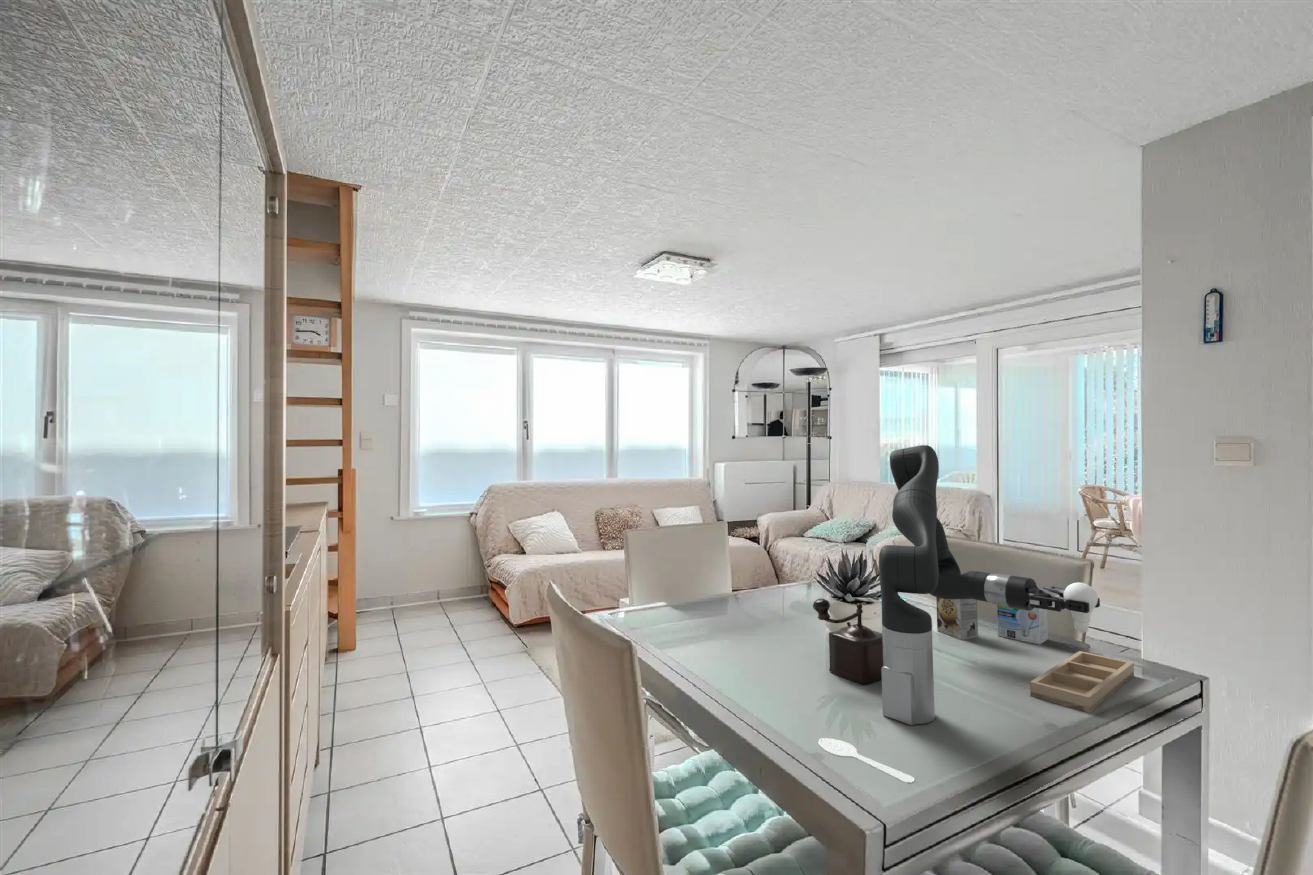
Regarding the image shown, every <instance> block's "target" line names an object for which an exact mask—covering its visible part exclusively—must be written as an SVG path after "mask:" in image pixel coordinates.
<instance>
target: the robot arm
mask: <svg viewBox="0 0 1313 875" xmlns="http://www.w3.org/2000/svg"><path fill="white" fill-rule="evenodd" d="M939 466H940V465H939V459H938V455H937V452H936V451H935V449H934V448H933V447H932V446H930V445H928V444H926V445H925V444H924V445H923V444H922V445H916V446H910V447H905V448H904V447H903V448H899V449H895V450H892V451H891V452H890V454H889V467H890V470H891V475H892V478H893V480H894V483H895V485H896V489H897V492H896V494H895V496H894V498H893V504H892V511H891V512H892V513H891V517H892V518H891V519H892V522H893V524H894V526H895V527H896V529H897V530H898V531H899V533H901V535H902V536H903V537H904V538H906V539H907V540H908V541H909V542H910V543H911V544H912V545H898V544H896V545H895V544H893V545H891V544H887V545H883V546H882V547H881V549H880V551H879V554H878V574H879V585H880V597H881V598H880V599H881V601H880V602H881V631H882V632H881V633H882V642H883V667H882V668H881V672H882V680H881V698H882V699H881V700H882V701H881V702H882V703H881V704H882V716H885V717H887V718H890V719H893V720H896V721H898V722H901V723H903V724H906V725H909V726H914V725H922V724H929V723H931V722H933V721H934V720H935V718H936V715H935V714H936V713H935V712H936V711H935V710H936V708H935V681H934V680H935V679H934V655H933V654H934V650H933V644H934V643H933V620H932V616H931V614H930V613H929V612H928V611H926V610H924V609H923V608H919V607H918V606H915V605H913V604H911V603H909V602H907V601H906V600H904V598H902V597H901V595H899V593H904V594H915V595H928V594H929V595H931V596H932V597H935V598H936V597H937V598H941V599H975V600H977V601H980V602H986V603H991V604H994V605H996V606H997V605H1000V606H1006V607H1011V608H1016V609H1022V610H1027V611H1031V610H1033V609H1034V608H1039V609H1046V610H1047V611H1052V612H1053V611H1054V612H1059V613H1060V612H1062V611H1063V612H1066V611H1071V610H1072V611H1077V612H1083V613H1088V612H1089V611H1090V605H1089V603H1088V602H1083V601H1075V600H1071V599H1069V600H1068V599H1066V598H1064V591H1065V589H1066V588H1062V587H1057V586H1050V587H1048V586H1044V587H1043V588H1039V587H1038V586H1037V583H1036V581H1035V580H1034V579H1033V578H1031V577H1024V576H1019V575H1018V576H1017V575H1011V574H1005V573H992V572H984V571H977V570H968V571H967V572H964V573H962V572H961V568H960V566H959V564H958V562H957V560H956V559H955V557H954V554H952V552H951V550H950V549H949V544H948V543H949V542H948V540H947V536H946V532H945V529H944V528H945V527H944V526H943V524H942V522H941V520H939V518H938V503H937V483H938V478H939V472H940V468H939ZM1100 606H1101V600H1100V597H1098V602H1097V604H1096V606H1095V608H1094V609H1097V608H1100Z"/></svg>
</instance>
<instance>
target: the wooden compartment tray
mask: <svg viewBox="0 0 1313 875" xmlns="http://www.w3.org/2000/svg"><path fill="white" fill-rule="evenodd" d="M1134 665H1135V664H1134V662H1132V661H1128V660H1122V659H1119V658H1113V657H1110V656H1105V655H1099V654H1095V653H1091V652H1085V651H1082V650H1078V651H1077V652H1075V653H1073V654H1072V655H1070V656H1069V657H1068V658H1066V659H1064V660H1063V661H1061V662H1059V663H1057V664H1056V665H1055V666H1052V667H1050V669H1048V670H1046V671H1045V672H1043V673H1042V674H1040V675H1038V676H1036V678H1034V679H1032V680H1030V681H1029V689H1030V692H1029V693H1030V694H1029V695H1030V697H1033V698H1036V699H1039V700H1043V701H1046V702H1051V703H1054V704H1057V705H1060V706H1065V707H1068V708H1071V709H1074V710H1075V709H1076V710H1078V711H1082V712H1085V713H1092V712H1093V711H1094V710H1095V709H1096V708H1097V707H1099V706H1100V705H1101V704H1102V703H1103V702H1104V701H1106V700H1107V699H1109V697H1110V696H1112V695H1113V694H1115V692H1117V691H1118V690H1119V689H1120V688H1121V687H1123V686H1124V685H1125V684H1126V683H1128V682H1130V680H1131V679H1132V678H1134V676H1135V670H1134V669H1135V666H1134Z"/></svg>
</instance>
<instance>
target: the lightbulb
mask: <svg viewBox="0 0 1313 875" xmlns="http://www.w3.org/2000/svg"><path fill="white" fill-rule="evenodd" d="M1064 589H1065V591H1064V598H1066V599H1068V600H1069V599H1071V600H1075V601H1083V602H1088V603H1089V605H1090V611H1089V612H1088V613H1083V612H1077V611H1072V610H1070V612H1071V617H1072V620H1073V626H1074V630H1076V631H1077V632H1078V633H1080V634H1084V633H1087V632H1089V629H1090V628H1089V625H1090V624H1089V623H1090V622H1091V616H1092V613H1093V610H1094V609H1096V608H1095V606H1096V604H1097V602H1098V598H1099V596H1098V593H1097V592H1096V590H1095V589H1094V588H1093V587H1092V586H1090V584H1089V585H1088V584H1087V583H1086V582H1073V583H1071V584H1069V585H1067V586H1066V588H1064Z"/></svg>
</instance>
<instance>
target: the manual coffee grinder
mask: <svg viewBox="0 0 1313 875" xmlns="http://www.w3.org/2000/svg"><path fill="white" fill-rule="evenodd" d="M812 608H813V610H814V611H815V612H817V615H818V616H817V619H818V620H819V621H825V622H827V623H832V624H842V623H846V625H847V626H843V627H840V629H838V630H834V631H830V632H828V647H829V648H828V652H829V655H828V656H829V669H828V670H829V672H831V673H832V674H834V675H835V676H838V677H840V678H842V679H845V680H847V681H849V682H852V683H854V684H855V683H856V684H857V685H861V686H867V685H871V684H874V683H877V682H880V681H881V682H882V672H881V668H882V667H883V642H882V632H879V631H877V630H876V631H875V630H872V628H869V627H868V626H865V625H863V623H862V614H863V613H864V610H863V604H862V603H856V611H855V612H854V613H853V614H851V615H849V616H846V617H843V618H839V619H835V618H831V614H829V610H830V608H831V602H830V601H829V600H828V599H825V598H818V599H816V600H815V601H813V604H812ZM855 618H857V623H856V624H855V623H854V624H851V622H849V621H851V620H853V619H855Z"/></svg>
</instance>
